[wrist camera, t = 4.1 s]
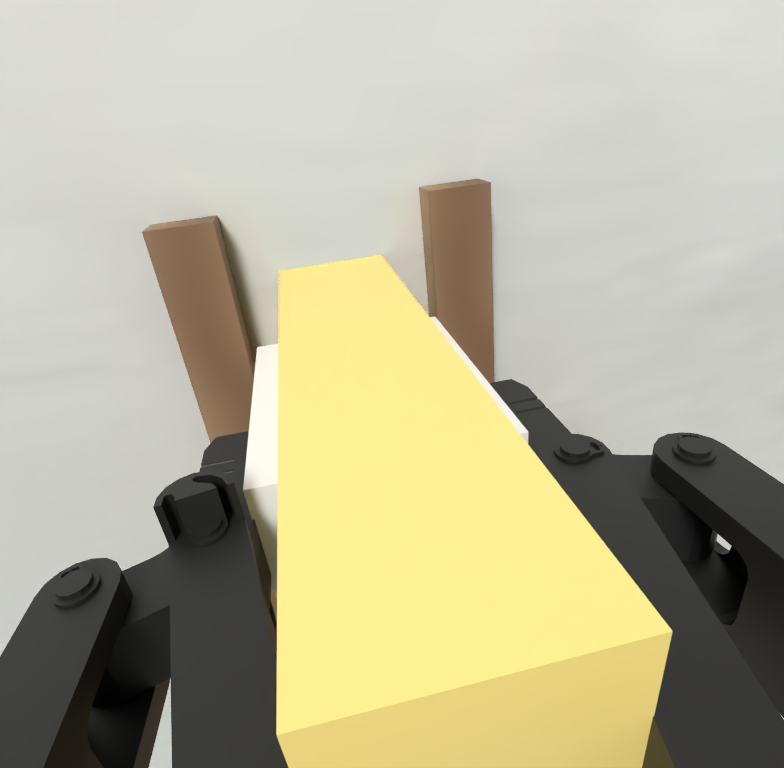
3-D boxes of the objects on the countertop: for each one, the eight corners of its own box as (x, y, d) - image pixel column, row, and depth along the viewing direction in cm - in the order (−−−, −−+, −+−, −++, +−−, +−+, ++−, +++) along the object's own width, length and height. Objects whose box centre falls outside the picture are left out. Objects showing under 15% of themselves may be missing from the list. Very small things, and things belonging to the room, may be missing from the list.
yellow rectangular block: (306, 400, 20) (360, 960, 7) (278, 271, 17) (276, 735, 4) (396, 383, 20) (618, 877, 7) (381, 254, 18) (672, 631, 5)
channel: (299, 694, 27) (300, 717, 26) (150, 224, 16) (142, 232, 15) (491, 645, 28) (499, 665, 27) (477, 178, 17) (490, 182, 16)
